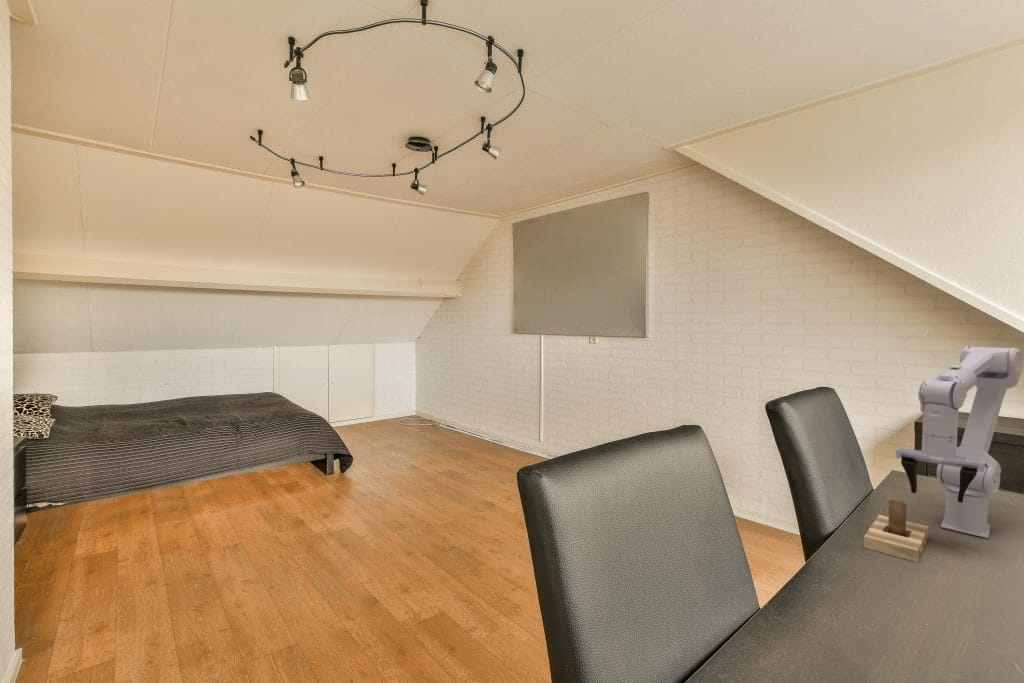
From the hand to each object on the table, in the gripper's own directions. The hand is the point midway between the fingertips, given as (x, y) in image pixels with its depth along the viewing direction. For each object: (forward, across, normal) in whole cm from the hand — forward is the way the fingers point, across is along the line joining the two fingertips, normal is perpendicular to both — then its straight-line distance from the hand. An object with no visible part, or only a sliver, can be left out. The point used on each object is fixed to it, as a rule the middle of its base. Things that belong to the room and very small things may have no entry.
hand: (936, 496), depth 106 cm
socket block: (+10, -6, -6) cm, 13 cm away
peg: (+10, -6, -6) cm, 13 cm away
